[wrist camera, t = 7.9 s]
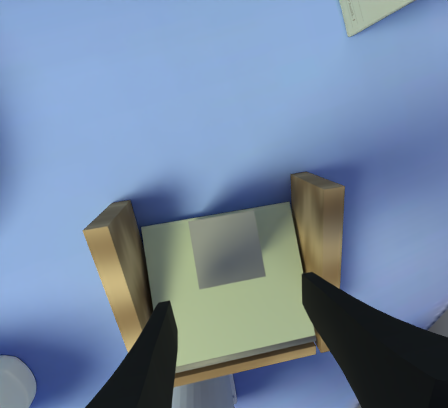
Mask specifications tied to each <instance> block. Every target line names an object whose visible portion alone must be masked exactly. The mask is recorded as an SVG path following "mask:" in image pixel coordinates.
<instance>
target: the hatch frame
mask: <svg viewBox="0 0 448 408" xmlns="http://www.w3.org/2000/svg"><path fill="white" fill-rule="evenodd" d="M344 193H345V186H343V185H340V184H338V183H335V182H332V181H330V180H327V179H324V178H322V177H319V176H317V175H314V174H311V173H309V172H301V173H295V174H291V204H292V218H293V223H294V228H295V233H296V239H297V244H298V249H299V254H300V259H301V264H302V269H303V273H308V272H313V273H315V274H317V275H318V276H320V277H321V278H323V279H325V280H326V281H328V282H329V283H331V284H333V285H334V286H336V287H337V288H339V289H340V275H341V254H342V234H343V214H344ZM83 233H84V236H85V238H86V241H87V244H88V246H89V249H90V252H91V254H92V257H93V260H94V262H95V265H96V268H97V271H98V273H99V276H100V279H101V281H102V284H103V287H104V289H105V292H106V295H107V297H108V300H109V303H110V305H111V308H112V311H113V313H114V316H115V319H116V322H117V324H118V327H119V330H120V332H121V335H122V338H123V340H124V343H125V346H126V348H127V351H128V352H129V351H130V349H131V348H132V346H133V345H134V343H135V342H136V340H137V339H138V337H139V335H140V334H141V332H142V330H143V329H144V327H145V325H146V323H147V322H148V320H149V318H150V316H151V314H152V313H153V304H152V297H151V290H150V284H149V277H148V270H147V263H146V256H145V251H144V247H143V244H142V240H141V237H140V233H139V230H138V226H137V223H136V219H135V215H134V212H133V208H132V205H131V201H130V200H127V201H121V202H114V203H111V204H110V205H109V206H108V207H107V208H106V209H105V210H104V211H103V212H102V213H101V214H100V215H99V216H98V217H97V218H95V219H94V220H93V221H92V222H91V223H90V224H89V225H88V226H87V227H86V228H85V229H84V230H83ZM314 331H315V336H316V341H315V343H316V345H317V347H318V348H319V350H320V352H321V353H323V352H327V351H330V350H329V349H328V347H327V346H326V344H325V343H324V341H323V340H322V338H321V336H320V335H319V333H318V332H317V330H316V329H315V327H314ZM316 345H315V344H314V342H310V343H306V344H301V345H297V346H292V347H288V348H284V349H279V350H275V351H271V352H266V353H262V354H257V355H253V356H249V357H244V358H240V359H236V360H231V361H227V362H222V363H218V364H214V365H209V366H205V367H201V368H196V369H192V370H188V371H183V372H179V373H175V380H174V387H178V386H182V385H186V384H190V383H195V382H199V381H203V380H208V379H212V378H216V377H220V376H225V375H229V374H233V373H237V372H242V371H246V370H250V369H255V368H259V367H263V366H267V365H272V364H276V363H280V362H284V361H289V360H293V359H297V358H302V357H306V356H310V355H314V354H316Z"/></svg>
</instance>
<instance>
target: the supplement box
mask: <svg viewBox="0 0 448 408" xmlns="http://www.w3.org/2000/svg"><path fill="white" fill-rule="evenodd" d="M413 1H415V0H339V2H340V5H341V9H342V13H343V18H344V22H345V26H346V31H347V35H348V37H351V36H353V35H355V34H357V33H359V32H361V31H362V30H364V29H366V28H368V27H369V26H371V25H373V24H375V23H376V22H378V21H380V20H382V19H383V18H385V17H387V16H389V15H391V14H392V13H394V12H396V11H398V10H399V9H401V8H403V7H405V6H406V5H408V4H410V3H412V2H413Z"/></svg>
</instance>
